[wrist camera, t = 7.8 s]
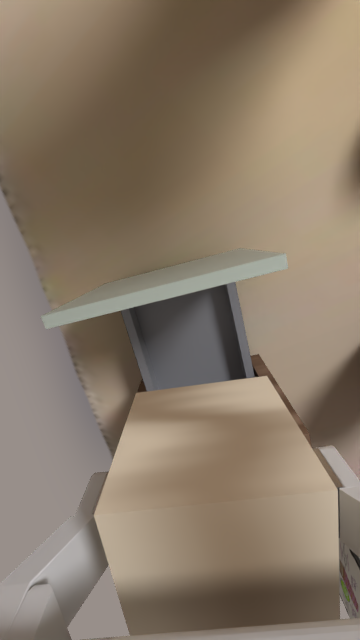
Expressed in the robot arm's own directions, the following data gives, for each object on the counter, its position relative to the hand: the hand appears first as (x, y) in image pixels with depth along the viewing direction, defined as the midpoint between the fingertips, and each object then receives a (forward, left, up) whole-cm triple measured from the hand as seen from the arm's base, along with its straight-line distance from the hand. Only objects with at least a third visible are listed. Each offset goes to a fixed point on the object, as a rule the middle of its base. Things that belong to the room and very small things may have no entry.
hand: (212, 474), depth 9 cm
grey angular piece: (+2, -1, -20) cm, 20 cm away
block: (0, 0, -2) cm, 2 cm away
